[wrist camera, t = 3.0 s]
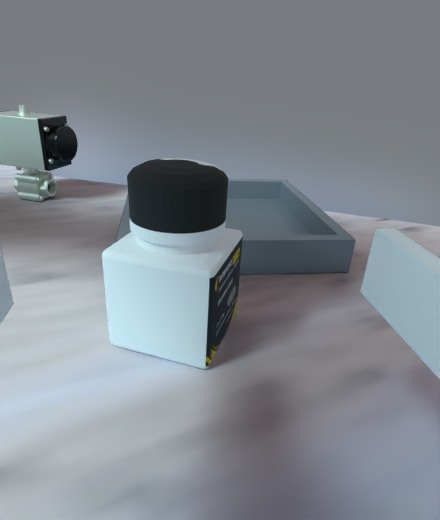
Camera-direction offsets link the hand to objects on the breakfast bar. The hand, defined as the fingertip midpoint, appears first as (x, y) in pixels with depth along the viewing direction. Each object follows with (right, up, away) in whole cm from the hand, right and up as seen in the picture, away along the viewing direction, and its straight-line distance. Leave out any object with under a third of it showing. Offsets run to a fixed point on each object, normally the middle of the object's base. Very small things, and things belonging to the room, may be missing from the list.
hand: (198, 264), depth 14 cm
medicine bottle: (-2, -5, +14) cm, 15 cm away
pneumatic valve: (-25, +9, +40) cm, 48 cm away
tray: (+1, +4, +32) cm, 32 cm away
